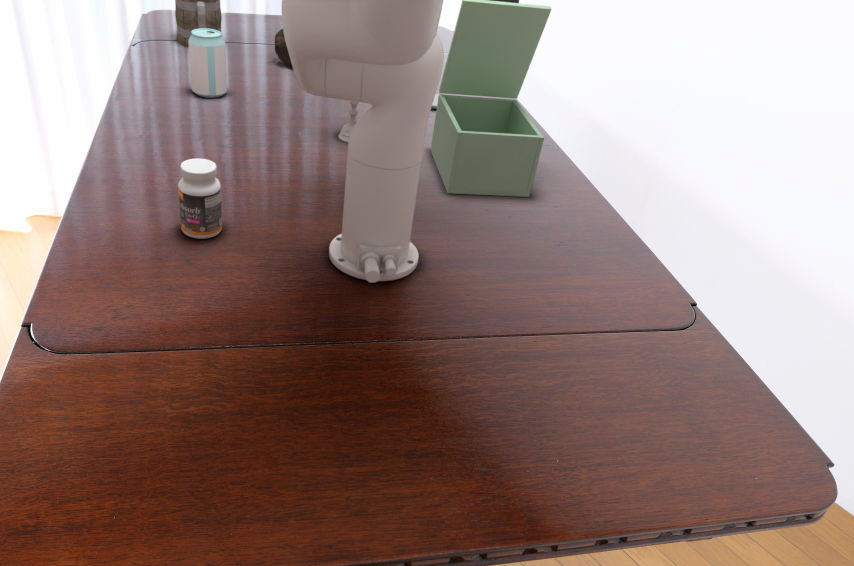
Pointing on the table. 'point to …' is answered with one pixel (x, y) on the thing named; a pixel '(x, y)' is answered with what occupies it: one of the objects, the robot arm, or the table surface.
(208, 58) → the can
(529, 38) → the lid
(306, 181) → the table surface
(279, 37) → the dark brown bone
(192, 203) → the pill bottle
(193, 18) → the mug
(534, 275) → the table surface
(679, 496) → the table surface
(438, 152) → the dish box
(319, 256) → the table surface
